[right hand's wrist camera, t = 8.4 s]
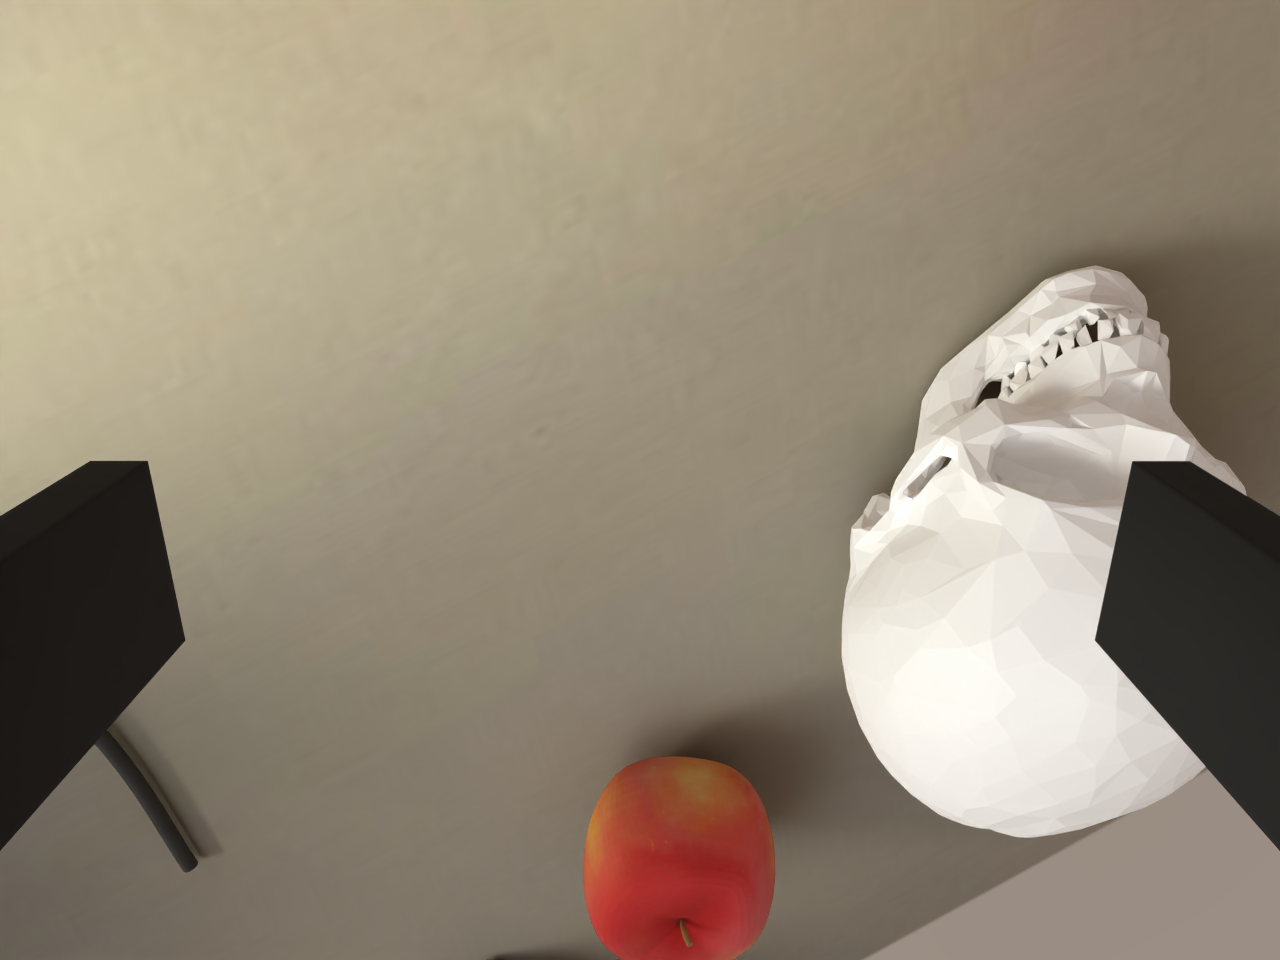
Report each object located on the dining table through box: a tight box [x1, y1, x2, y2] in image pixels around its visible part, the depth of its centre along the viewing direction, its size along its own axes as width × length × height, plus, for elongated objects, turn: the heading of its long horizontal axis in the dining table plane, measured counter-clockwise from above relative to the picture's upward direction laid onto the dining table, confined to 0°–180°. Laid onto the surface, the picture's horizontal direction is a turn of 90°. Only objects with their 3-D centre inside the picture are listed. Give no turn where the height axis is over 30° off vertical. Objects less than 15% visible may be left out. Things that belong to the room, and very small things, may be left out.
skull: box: [842, 265, 1247, 838], centre depth 35 cm, size 13×22×16 cm, turn 169°
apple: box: [584, 756, 775, 960], centre depth 44 cm, size 10×10×10 cm
